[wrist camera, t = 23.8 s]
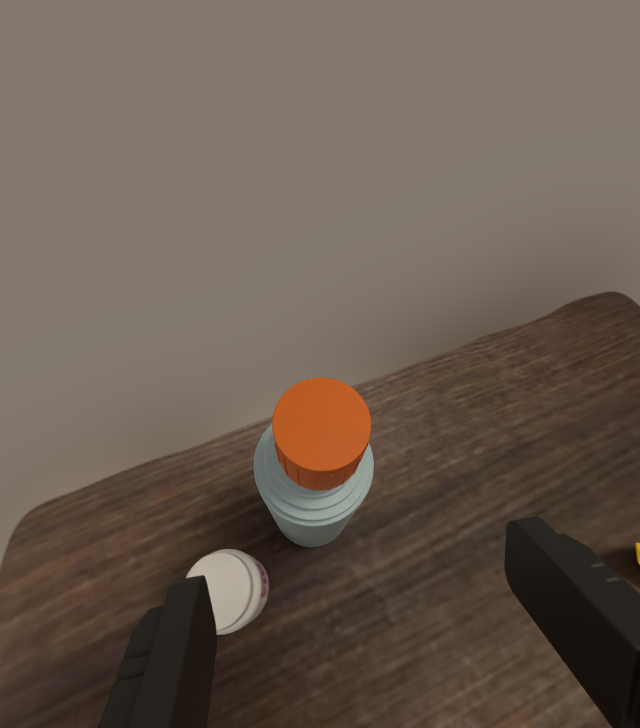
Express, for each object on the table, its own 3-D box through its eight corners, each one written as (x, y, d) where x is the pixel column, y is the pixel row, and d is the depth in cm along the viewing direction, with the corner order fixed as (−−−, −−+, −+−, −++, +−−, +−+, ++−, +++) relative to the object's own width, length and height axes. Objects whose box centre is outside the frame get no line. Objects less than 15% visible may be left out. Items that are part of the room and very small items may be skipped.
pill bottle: (282, 589, 30) (274, 592, 22) (232, 642, 28) (206, 664, 21) (244, 540, 31) (224, 527, 24) (194, 587, 30) (157, 589, 22)
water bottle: (278, 554, 31) (241, 522, 14) (270, 474, 34) (232, 367, 17) (356, 539, 32) (413, 492, 14) (341, 462, 35) (373, 349, 18)
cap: (365, 490, 18) (377, 471, 14) (275, 492, 18) (268, 473, 14) (358, 409, 20) (368, 375, 16) (278, 410, 19) (272, 377, 16)
